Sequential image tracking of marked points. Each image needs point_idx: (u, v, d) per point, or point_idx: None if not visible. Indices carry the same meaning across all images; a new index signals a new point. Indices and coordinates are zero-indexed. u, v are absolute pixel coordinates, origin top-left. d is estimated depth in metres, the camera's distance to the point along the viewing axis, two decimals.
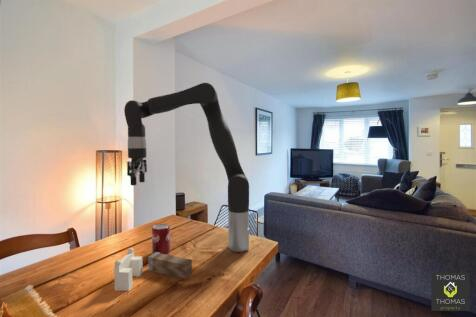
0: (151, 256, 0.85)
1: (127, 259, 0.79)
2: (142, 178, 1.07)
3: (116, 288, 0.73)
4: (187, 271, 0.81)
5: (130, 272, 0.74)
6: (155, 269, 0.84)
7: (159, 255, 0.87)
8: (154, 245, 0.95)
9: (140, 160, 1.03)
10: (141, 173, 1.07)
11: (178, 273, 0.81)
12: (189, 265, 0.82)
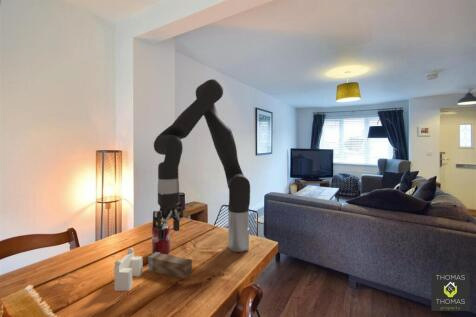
0: (151, 256, 0.85)
1: (127, 259, 0.79)
2: None
3: (116, 288, 0.73)
4: (187, 271, 0.81)
5: (130, 272, 0.74)
6: (155, 269, 0.84)
7: (159, 255, 0.87)
8: (154, 245, 0.95)
9: None
10: None
11: (178, 273, 0.81)
12: (189, 265, 0.82)
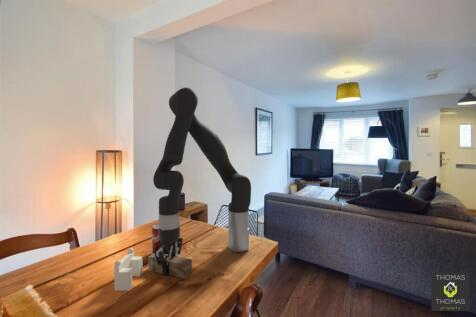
0: (151, 256, 0.85)
1: (127, 259, 0.79)
2: None
3: (116, 288, 0.73)
4: (187, 271, 0.81)
5: (130, 272, 0.74)
6: (155, 269, 0.84)
7: None
8: (154, 245, 0.95)
9: None
10: None
11: (178, 273, 0.81)
12: (189, 265, 0.82)
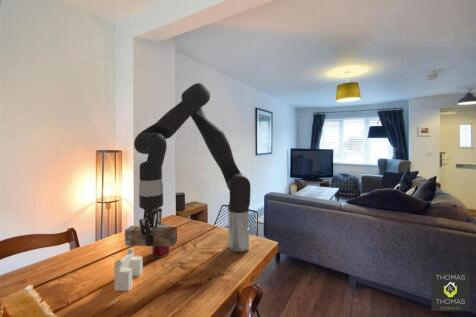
0: (128, 229, 0.77)
1: (127, 259, 0.79)
2: None
3: (116, 288, 0.73)
4: (174, 238, 0.77)
5: (130, 272, 0.74)
6: (134, 243, 0.76)
7: (137, 228, 0.78)
8: None
9: None
10: None
11: (165, 241, 0.76)
12: (175, 232, 0.78)
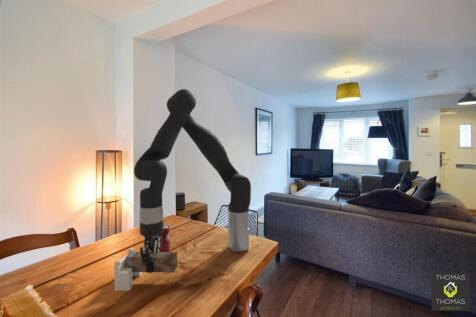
0: (129, 256, 0.77)
1: None
2: None
3: (116, 288, 0.73)
4: (175, 264, 0.78)
5: (130, 272, 0.74)
6: (135, 269, 0.77)
7: (138, 254, 0.79)
8: None
9: None
10: None
11: (165, 268, 0.77)
12: (176, 258, 0.79)
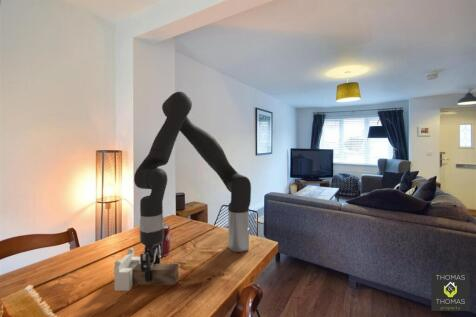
0: None
1: (127, 259, 0.79)
2: None
3: (116, 288, 0.73)
4: (176, 276, 0.78)
5: (130, 272, 0.74)
6: (136, 281, 0.77)
7: (138, 265, 0.79)
8: None
9: None
10: None
11: (166, 280, 0.77)
12: (177, 270, 0.79)
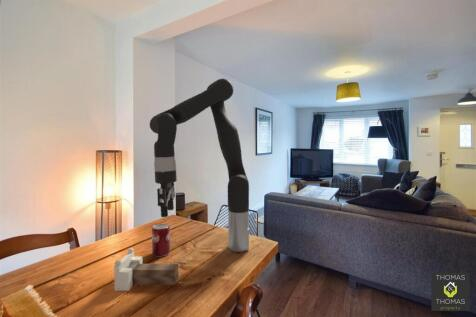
0: None
1: (127, 259, 0.79)
2: None
3: (116, 288, 0.73)
4: (176, 276, 0.78)
5: (130, 272, 0.74)
6: (136, 281, 0.77)
7: (139, 265, 0.79)
8: (154, 245, 0.95)
9: None
10: None
11: (166, 280, 0.77)
12: (177, 270, 0.79)
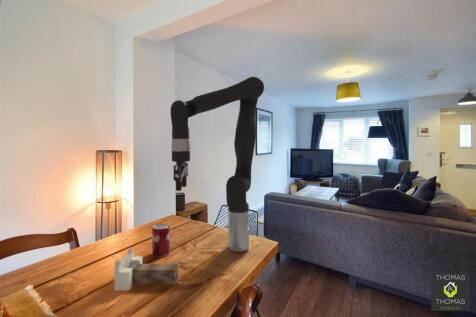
0: None
1: (127, 259, 0.79)
2: None
3: (116, 288, 0.73)
4: (176, 276, 0.78)
5: (130, 272, 0.74)
6: (136, 281, 0.77)
7: (138, 265, 0.79)
8: (154, 245, 0.95)
9: None
10: None
11: (166, 280, 0.77)
12: (177, 270, 0.79)
